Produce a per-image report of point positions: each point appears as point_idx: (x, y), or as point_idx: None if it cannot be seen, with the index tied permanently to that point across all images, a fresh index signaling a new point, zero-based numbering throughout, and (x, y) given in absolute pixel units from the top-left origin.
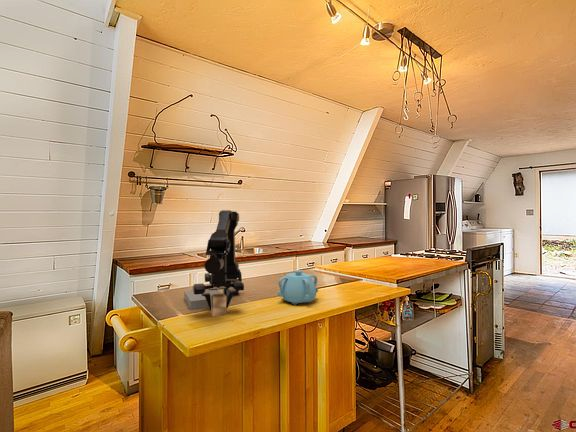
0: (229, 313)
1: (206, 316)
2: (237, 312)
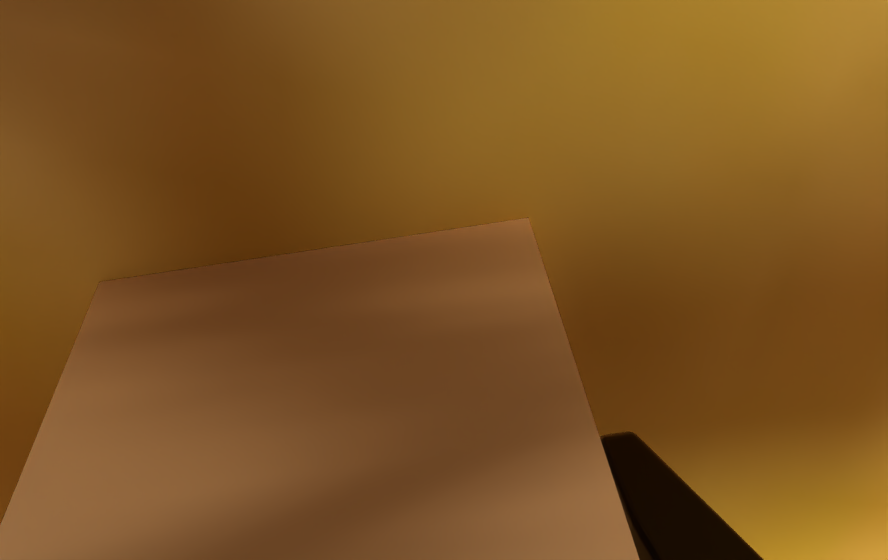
0: (646, 431)
1: None
2: (866, 393)
